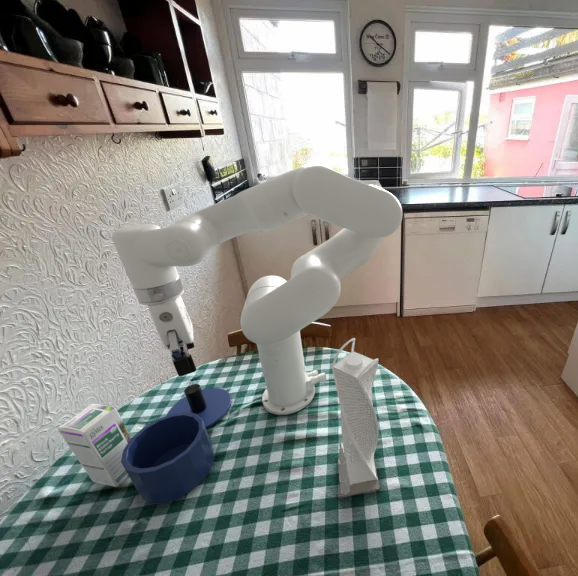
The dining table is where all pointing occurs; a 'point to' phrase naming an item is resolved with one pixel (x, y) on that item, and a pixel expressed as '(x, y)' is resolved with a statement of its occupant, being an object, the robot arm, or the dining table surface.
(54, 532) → the dining table surface
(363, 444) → the skyscraper
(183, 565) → the dining table surface
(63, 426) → the syrup box
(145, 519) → the dining table surface
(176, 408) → the lid
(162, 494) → the pot
